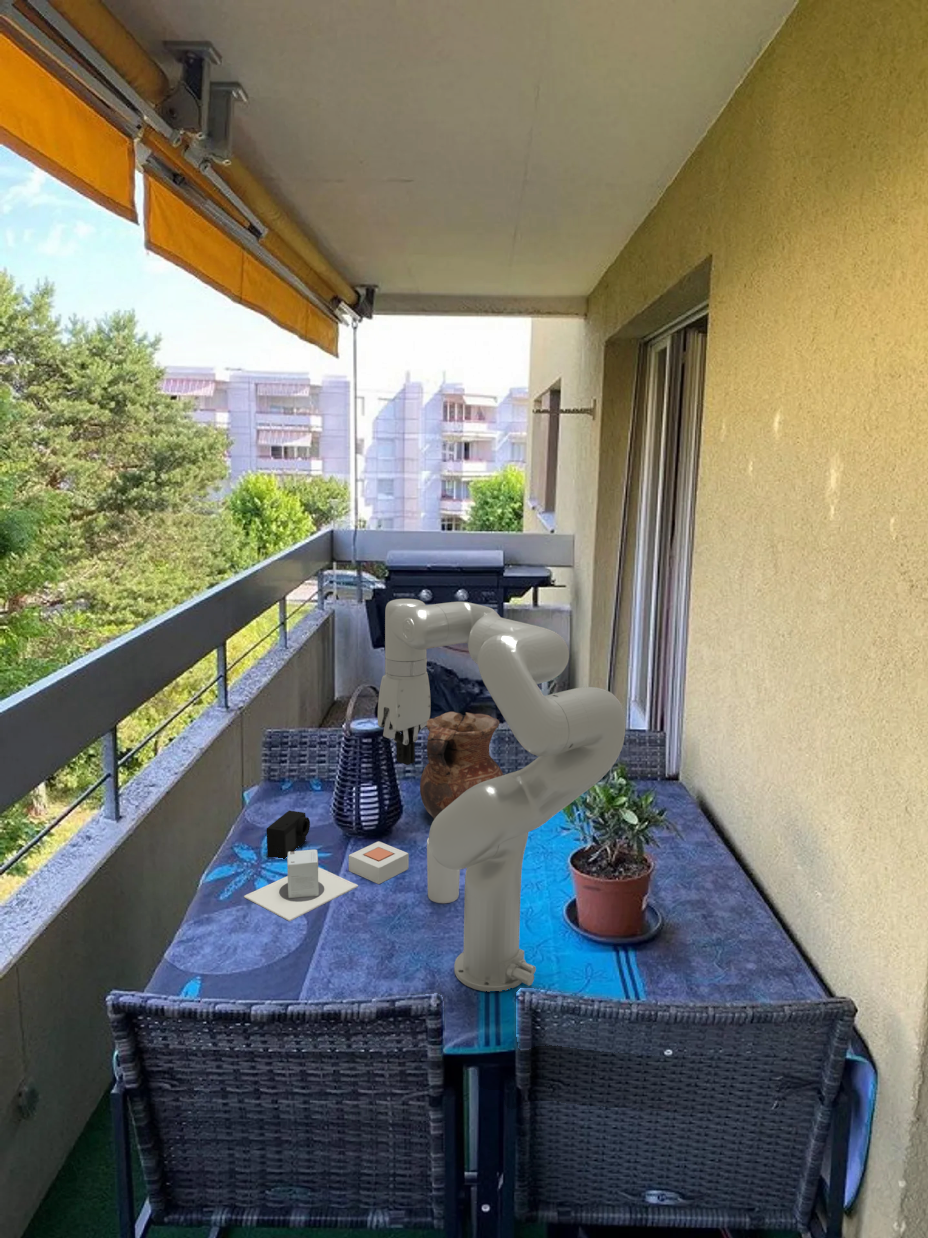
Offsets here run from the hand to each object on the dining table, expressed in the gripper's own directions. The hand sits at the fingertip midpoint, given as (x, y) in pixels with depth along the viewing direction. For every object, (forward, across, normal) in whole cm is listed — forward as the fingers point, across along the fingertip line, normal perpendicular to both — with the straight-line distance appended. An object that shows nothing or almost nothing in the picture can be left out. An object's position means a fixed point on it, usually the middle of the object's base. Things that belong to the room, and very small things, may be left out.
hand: (405, 762), depth 164 cm
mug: (+31, -12, 0) cm, 34 cm away
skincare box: (+31, +7, -22) cm, 38 cm away
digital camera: (+31, -4, -39) cm, 50 cm away
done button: (+30, -10, -17) cm, 36 cm away
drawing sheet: (+31, +7, -22) cm, 39 cm away
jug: (+31, -43, -21) cm, 57 cm away
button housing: (+31, -10, -17) cm, 37 cm away
